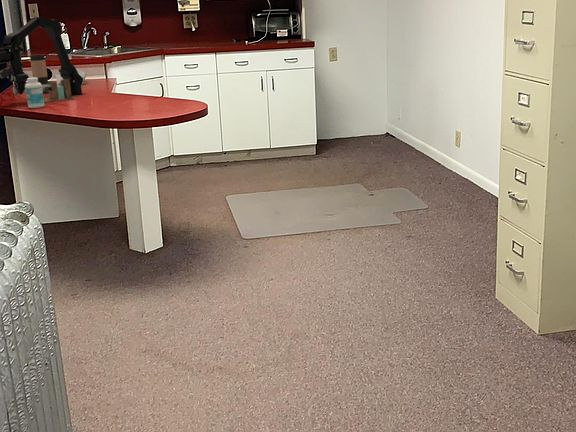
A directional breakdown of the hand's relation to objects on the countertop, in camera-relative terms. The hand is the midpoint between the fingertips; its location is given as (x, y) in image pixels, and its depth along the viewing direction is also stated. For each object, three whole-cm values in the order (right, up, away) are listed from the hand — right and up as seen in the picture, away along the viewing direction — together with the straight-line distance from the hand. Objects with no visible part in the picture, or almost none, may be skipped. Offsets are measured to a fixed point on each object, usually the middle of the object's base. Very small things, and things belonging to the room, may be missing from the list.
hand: (20, 94), depth 366 cm
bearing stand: (+13, -2, +9) cm, 16 cm away
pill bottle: (+13, -9, -14) cm, 21 cm away
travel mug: (-3, +7, +41) cm, 42 cm away
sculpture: (+1, +19, +82) cm, 85 cm away
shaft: (+6, +1, +4) cm, 7 cm away
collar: (+16, 0, +11) cm, 19 cm away
